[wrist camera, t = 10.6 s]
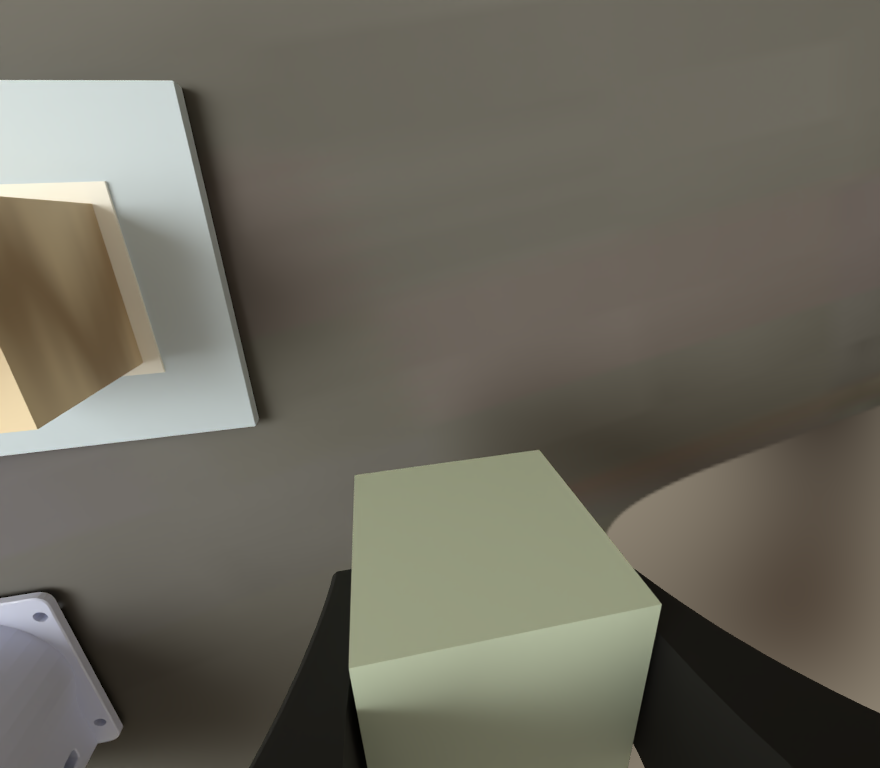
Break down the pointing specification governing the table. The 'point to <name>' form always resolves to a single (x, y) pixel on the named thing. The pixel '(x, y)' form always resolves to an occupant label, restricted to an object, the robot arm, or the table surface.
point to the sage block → (492, 621)
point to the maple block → (56, 312)
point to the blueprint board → (134, 253)
